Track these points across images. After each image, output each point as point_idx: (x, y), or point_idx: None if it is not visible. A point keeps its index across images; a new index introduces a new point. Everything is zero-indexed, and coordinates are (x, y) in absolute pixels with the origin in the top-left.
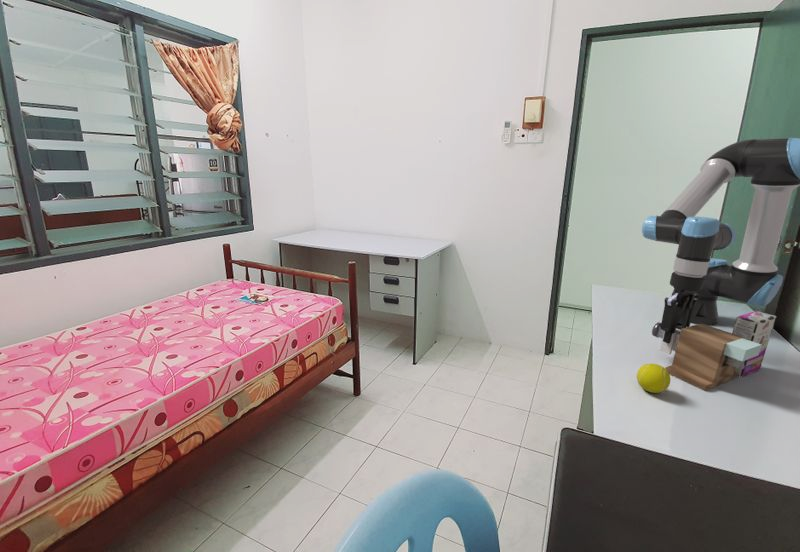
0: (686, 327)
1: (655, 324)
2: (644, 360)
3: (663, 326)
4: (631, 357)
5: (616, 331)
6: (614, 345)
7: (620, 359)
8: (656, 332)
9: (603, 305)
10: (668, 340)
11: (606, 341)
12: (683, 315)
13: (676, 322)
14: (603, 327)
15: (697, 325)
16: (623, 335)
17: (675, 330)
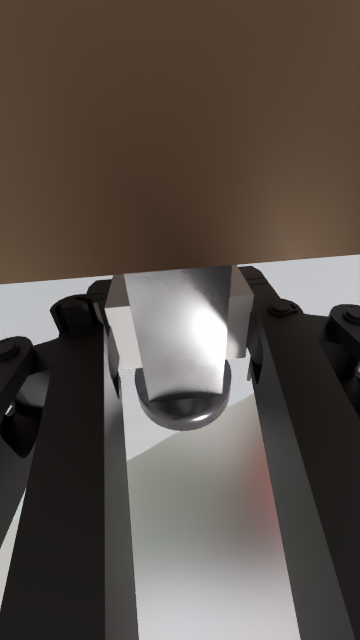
0: (356, 253)
1: (218, 416)
2: (262, 266)
3: (354, 375)
4: (281, 297)
5: (132, 420)
6: (237, 367)
7: (334, 298)
8: (225, 363)
9: (22, 505)
10: (261, 276)
11: (232, 387)
12: (112, 494)
13: (318, 388)
14: (147, 439)
15: (32, 252)
16: (135, 402)
17: (168, 334)
